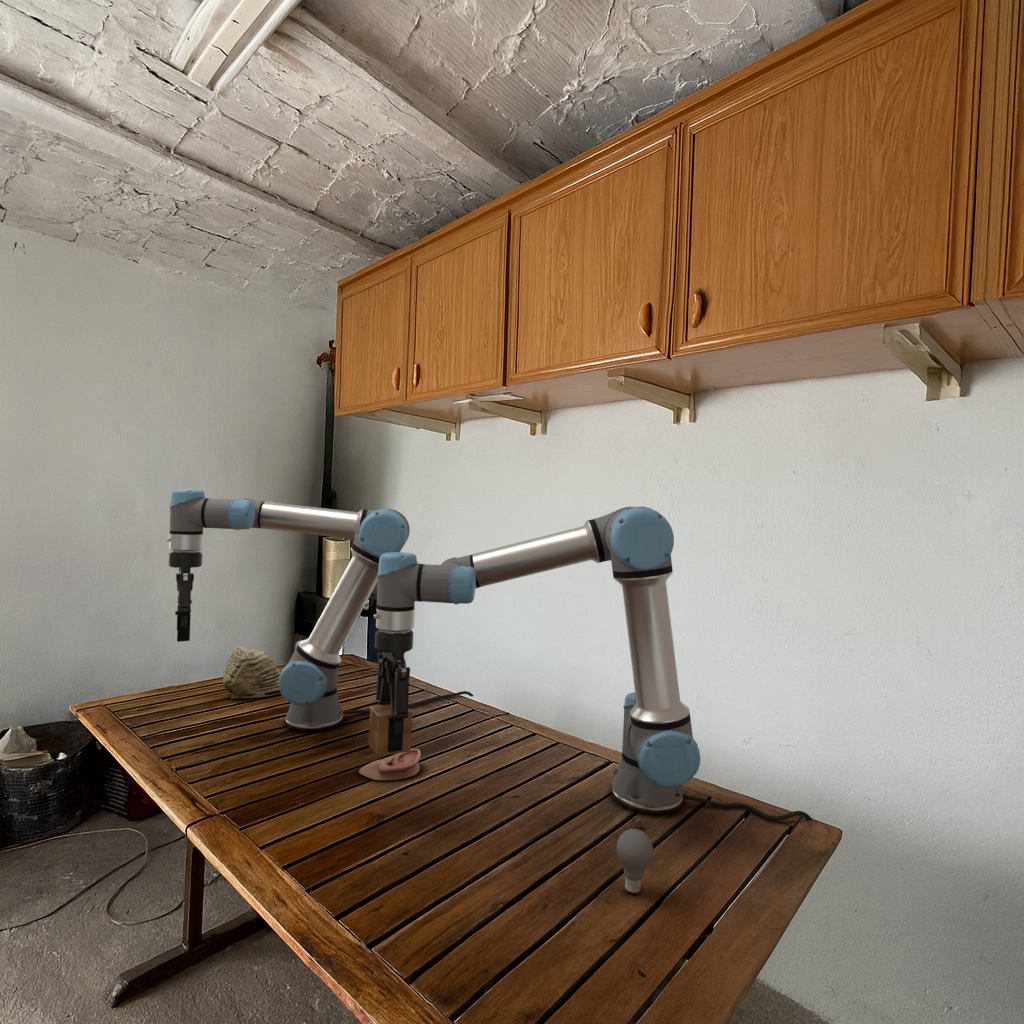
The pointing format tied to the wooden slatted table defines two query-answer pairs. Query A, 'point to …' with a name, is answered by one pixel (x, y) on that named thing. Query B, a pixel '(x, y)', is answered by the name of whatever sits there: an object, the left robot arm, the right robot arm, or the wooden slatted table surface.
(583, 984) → the wooden slatted table surface
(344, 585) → the left robot arm
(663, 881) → the wooden slatted table surface
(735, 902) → the wooden slatted table surface
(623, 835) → the light bulb
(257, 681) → the fossil
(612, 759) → the wooden slatted table surface
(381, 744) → the light brown block
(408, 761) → the anatomical model
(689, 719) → the right robot arm
